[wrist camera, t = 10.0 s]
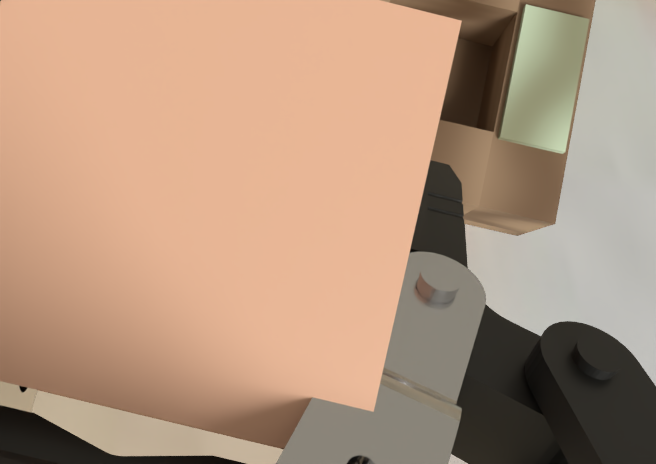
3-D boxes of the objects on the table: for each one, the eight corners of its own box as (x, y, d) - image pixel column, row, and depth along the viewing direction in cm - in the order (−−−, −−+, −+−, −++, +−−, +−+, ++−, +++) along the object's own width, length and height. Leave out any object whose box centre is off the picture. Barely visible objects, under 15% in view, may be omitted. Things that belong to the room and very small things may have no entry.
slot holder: (38, 125, 29) (-14, 90, 24) (104, -97, 31) (67, -170, 26) (517, 235, 29) (557, 222, 25) (559, 10, 31) (605, -44, 26)
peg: (165, 318, 15) (-115, 353, 5) (207, 164, 15) (30, -89, 5) (322, 356, 15) (361, 466, 5) (358, 202, 15) (461, 20, 5)
